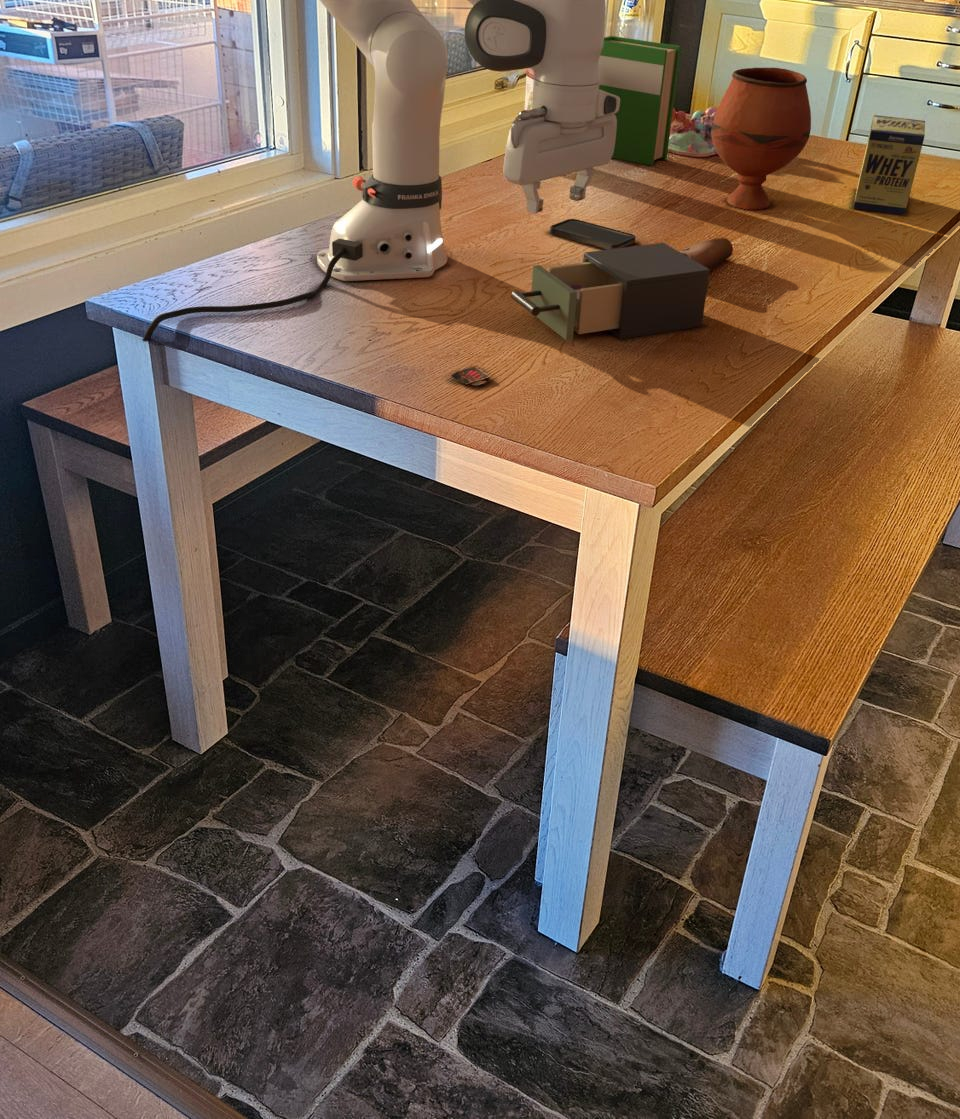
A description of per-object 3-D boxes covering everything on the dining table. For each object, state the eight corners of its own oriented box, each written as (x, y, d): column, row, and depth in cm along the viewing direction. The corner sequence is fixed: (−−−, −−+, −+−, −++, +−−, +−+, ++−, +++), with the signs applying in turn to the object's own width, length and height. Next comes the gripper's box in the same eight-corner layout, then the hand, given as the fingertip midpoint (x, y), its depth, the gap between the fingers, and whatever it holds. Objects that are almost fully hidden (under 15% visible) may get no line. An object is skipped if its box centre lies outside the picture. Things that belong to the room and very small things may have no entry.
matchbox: (447, 378, 150) (447, 375, 149) (471, 367, 153) (471, 363, 153) (473, 388, 147) (473, 385, 147) (497, 376, 151) (497, 373, 150)
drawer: (537, 344, 158) (540, 296, 154) (502, 315, 167) (504, 269, 163) (644, 328, 165) (650, 281, 161) (605, 300, 174) (609, 256, 170)
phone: (571, 217, 208) (638, 235, 200) (571, 223, 208) (637, 241, 201) (547, 227, 203) (614, 245, 195) (546, 233, 203) (614, 251, 196)
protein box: (852, 209, 223) (870, 130, 214) (856, 189, 235) (873, 113, 227) (905, 216, 221) (925, 136, 212) (906, 195, 233) (925, 119, 224)
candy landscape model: (703, 129, 277) (709, 90, 271) (777, 149, 262) (785, 109, 257) (635, 142, 263) (640, 101, 258) (710, 164, 249) (716, 122, 243)
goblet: (697, 212, 218) (717, 78, 204) (704, 186, 233) (723, 60, 219) (795, 222, 214) (821, 87, 200) (795, 195, 230) (820, 68, 216)
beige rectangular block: (600, 321, 164) (602, 300, 162) (582, 324, 163) (583, 303, 161) (577, 304, 169) (579, 284, 167) (559, 307, 168) (561, 287, 166)
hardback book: (666, 159, 251) (681, 46, 237) (651, 165, 246) (665, 50, 232) (600, 145, 259) (611, 35, 246) (584, 151, 254) (594, 39, 240)
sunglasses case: (688, 247, 198) (710, 219, 193) (716, 273, 197) (739, 246, 193) (646, 275, 185) (669, 246, 180) (676, 303, 185) (700, 275, 180)
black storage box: (620, 339, 163) (627, 280, 158) (578, 308, 173) (583, 252, 168) (701, 326, 169) (710, 269, 163) (656, 297, 178) (663, 242, 173)
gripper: (531, 117, 138) (524, 225, 146) (628, 97, 151) (616, 198, 159) (495, 108, 142) (490, 214, 150) (592, 89, 154) (583, 188, 162)
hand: (556, 205), depth 154 cm, fingers open, 8 cm apart
